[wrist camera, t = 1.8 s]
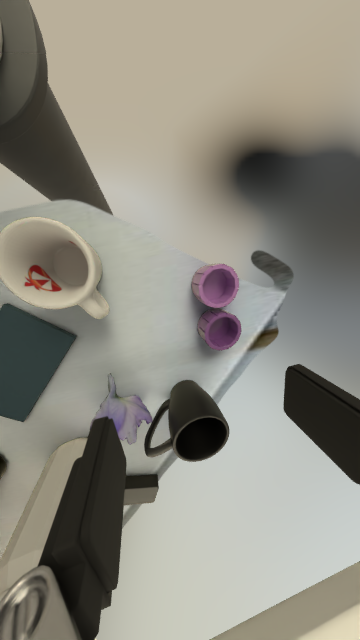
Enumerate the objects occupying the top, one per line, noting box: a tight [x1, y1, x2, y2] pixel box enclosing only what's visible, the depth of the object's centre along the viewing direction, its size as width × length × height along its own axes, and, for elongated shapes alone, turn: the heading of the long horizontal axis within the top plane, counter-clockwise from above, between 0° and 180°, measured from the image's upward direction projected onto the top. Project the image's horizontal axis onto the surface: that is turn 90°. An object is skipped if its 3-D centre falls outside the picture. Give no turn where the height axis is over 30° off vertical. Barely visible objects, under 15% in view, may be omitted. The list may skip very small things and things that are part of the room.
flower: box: [90, 373, 152, 444], centre depth 27 cm, size 9×9×10 cm
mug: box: [144, 380, 229, 462], centre depth 28 cm, size 8×12×10 cm
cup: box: [0, 217, 110, 319], centre depth 20 cm, size 11×8×8 cm
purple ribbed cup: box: [198, 308, 241, 351], centre depth 28 cm, size 6×6×4 cm
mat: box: [0, 304, 76, 422], centre depth 25 cm, size 16×9×1 cm, turn 144°
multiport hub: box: [124, 475, 159, 505], centre depth 35 cm, size 4×11×2 cm, turn 73°
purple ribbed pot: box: [192, 264, 239, 308], centre depth 26 cm, size 6×6×4 cm
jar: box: [0, 438, 88, 601], centre depth 23 cm, size 10×10×18 cm
